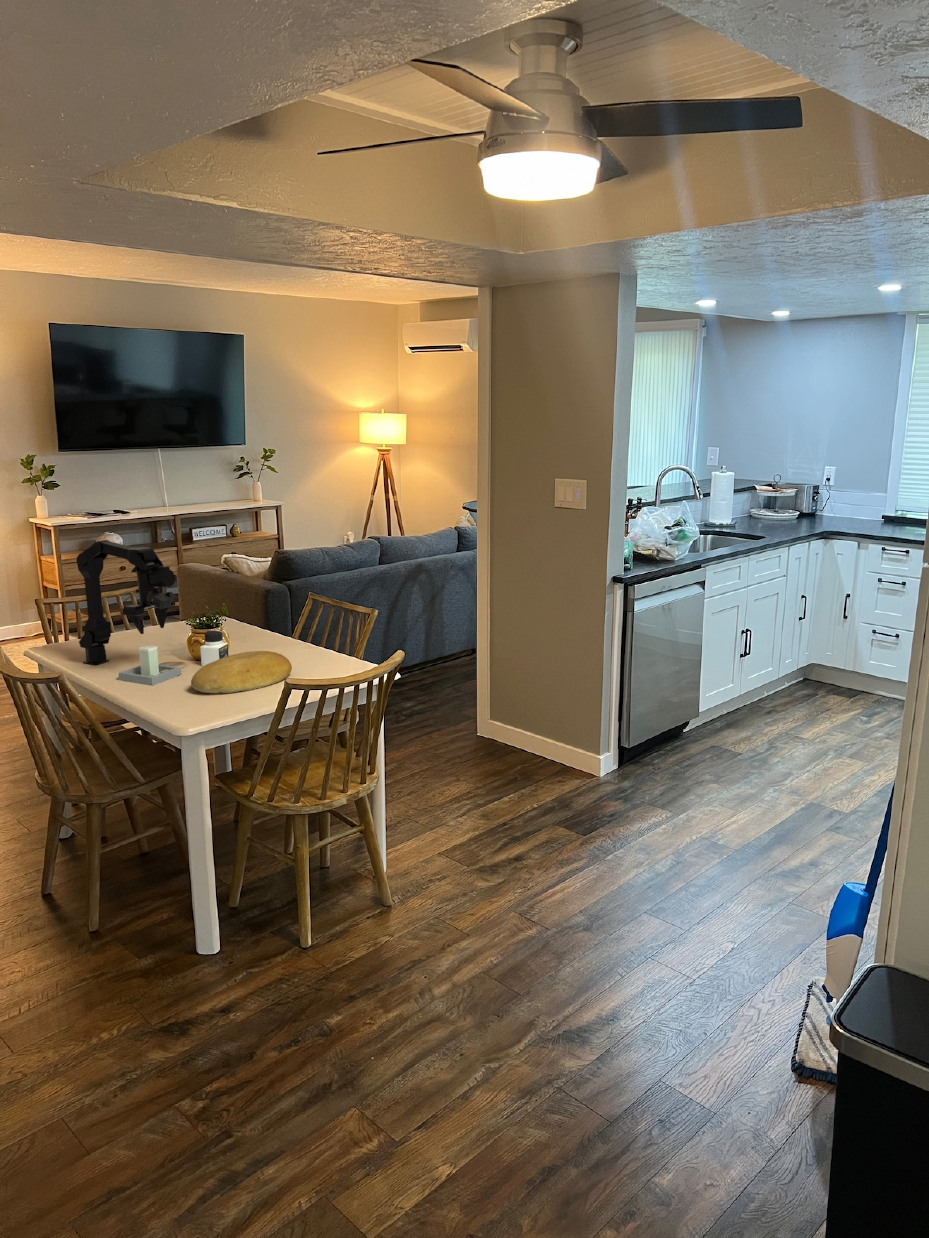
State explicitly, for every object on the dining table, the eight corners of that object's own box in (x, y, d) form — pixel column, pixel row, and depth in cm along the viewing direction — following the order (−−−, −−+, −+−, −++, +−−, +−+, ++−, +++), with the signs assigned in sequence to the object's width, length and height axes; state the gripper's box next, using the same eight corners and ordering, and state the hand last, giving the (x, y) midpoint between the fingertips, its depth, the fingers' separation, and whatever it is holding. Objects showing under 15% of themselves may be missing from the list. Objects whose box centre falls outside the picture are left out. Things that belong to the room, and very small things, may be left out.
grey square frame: (119, 680, 303) (118, 672, 303) (148, 669, 315) (148, 662, 315) (152, 685, 297) (151, 678, 297) (181, 674, 309) (180, 667, 309)
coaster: (149, 668, 317) (149, 667, 317) (170, 661, 325) (170, 660, 325) (172, 671, 312) (171, 670, 312) (192, 664, 321) (192, 663, 321)
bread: (181, 690, 293) (179, 660, 291) (271, 667, 318) (269, 639, 316) (214, 702, 281) (212, 671, 279) (304, 677, 307) (303, 648, 304)
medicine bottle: (220, 667, 318) (218, 634, 315) (201, 666, 319) (198, 633, 316) (229, 661, 325) (227, 629, 322) (210, 660, 326) (208, 628, 323)
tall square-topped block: (141, 678, 305) (138, 647, 303) (150, 675, 309) (147, 645, 307) (150, 679, 304) (148, 649, 301) (159, 676, 307) (157, 646, 305)
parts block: (160, 677, 307) (160, 671, 307) (166, 675, 310) (166, 669, 309) (167, 678, 306) (166, 672, 305) (173, 676, 308) (173, 670, 308)
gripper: (144, 591, 294) (149, 638, 298) (185, 581, 311) (189, 626, 314) (118, 590, 299) (124, 636, 302) (160, 580, 316) (165, 624, 319)
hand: (152, 630), depth 309 cm, fingers open, 9 cm apart
